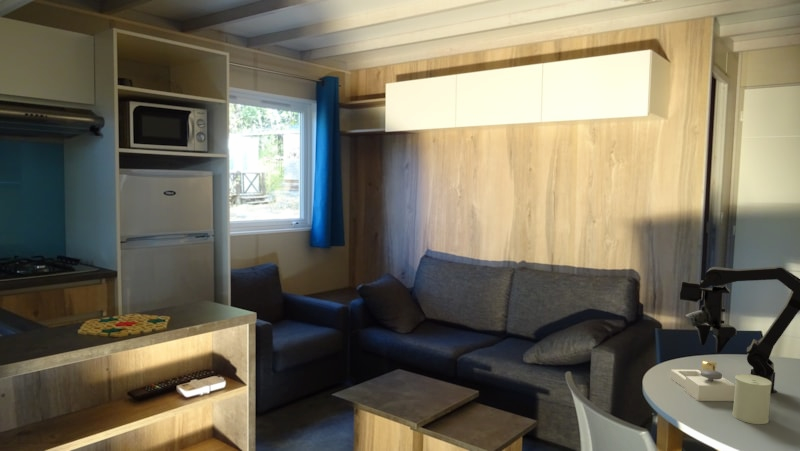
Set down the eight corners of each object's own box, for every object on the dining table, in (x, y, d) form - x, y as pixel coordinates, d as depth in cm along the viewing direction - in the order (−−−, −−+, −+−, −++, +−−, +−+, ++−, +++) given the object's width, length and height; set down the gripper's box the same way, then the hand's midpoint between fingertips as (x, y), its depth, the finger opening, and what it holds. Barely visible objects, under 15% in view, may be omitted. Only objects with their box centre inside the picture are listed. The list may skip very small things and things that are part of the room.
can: (734, 420, 169) (737, 380, 168) (730, 408, 178) (733, 370, 176) (771, 426, 166) (775, 385, 165) (765, 414, 174) (768, 375, 173)
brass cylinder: (710, 376, 205) (711, 360, 204) (717, 381, 201) (719, 364, 200) (698, 376, 205) (699, 360, 204) (705, 381, 200) (706, 364, 200)
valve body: (700, 378, 204) (702, 356, 203) (735, 401, 184) (737, 377, 183) (666, 377, 203) (668, 356, 202) (697, 400, 183) (699, 377, 183)
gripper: (676, 298, 209) (673, 340, 210) (705, 310, 190) (702, 357, 192) (706, 298, 209) (703, 340, 211) (739, 311, 191) (735, 357, 192)
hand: (710, 348), depth 201 cm, fingers open, 9 cm apart
